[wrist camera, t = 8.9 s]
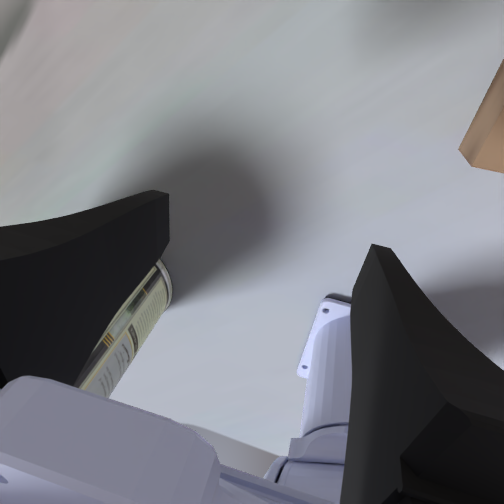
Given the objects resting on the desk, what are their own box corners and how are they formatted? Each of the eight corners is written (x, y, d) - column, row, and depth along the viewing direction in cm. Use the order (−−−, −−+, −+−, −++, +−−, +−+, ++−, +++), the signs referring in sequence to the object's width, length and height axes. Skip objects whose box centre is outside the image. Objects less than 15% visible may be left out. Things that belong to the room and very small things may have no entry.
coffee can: (74, 300, 33) (-69, 444, 22) (55, 209, 27) (-156, 345, 16) (173, 331, 32) (75, 500, 21) (176, 244, 26) (40, 416, 15)
